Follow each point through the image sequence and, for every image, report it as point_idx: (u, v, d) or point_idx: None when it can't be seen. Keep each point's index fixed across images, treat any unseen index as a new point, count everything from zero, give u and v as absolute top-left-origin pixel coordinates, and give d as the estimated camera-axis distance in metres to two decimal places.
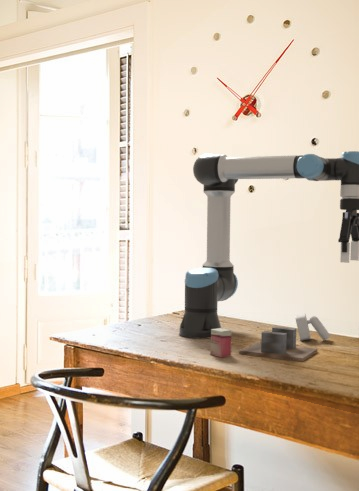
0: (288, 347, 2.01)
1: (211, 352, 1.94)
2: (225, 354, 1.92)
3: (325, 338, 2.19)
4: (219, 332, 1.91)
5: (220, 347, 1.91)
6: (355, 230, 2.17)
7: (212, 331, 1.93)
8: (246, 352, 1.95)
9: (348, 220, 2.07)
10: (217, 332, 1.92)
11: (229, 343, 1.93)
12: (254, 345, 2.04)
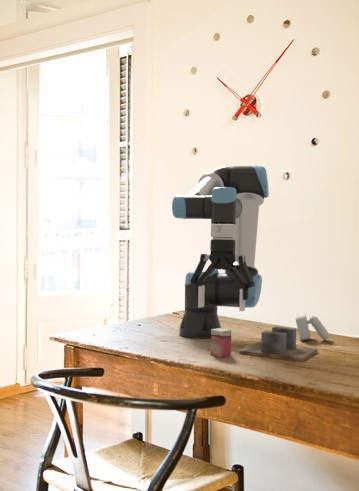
0: (288, 347, 2.01)
1: (211, 352, 1.94)
2: (225, 354, 1.92)
3: (325, 338, 2.19)
4: (219, 332, 1.91)
5: (220, 348, 1.91)
6: None
7: (212, 331, 1.93)
8: (246, 352, 1.95)
9: None
10: (217, 332, 1.92)
11: (229, 343, 1.93)
12: (254, 345, 2.04)
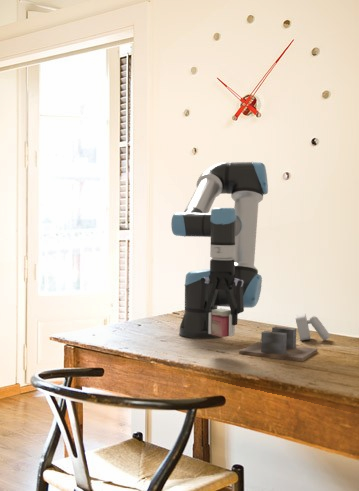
0: (288, 347, 2.01)
1: (212, 332, 1.94)
2: (226, 334, 1.92)
3: (325, 338, 2.19)
4: (220, 312, 1.91)
5: (221, 328, 1.91)
6: None
7: (213, 311, 1.94)
8: (246, 352, 1.95)
9: None
10: (218, 312, 1.92)
11: None
12: (254, 345, 2.04)
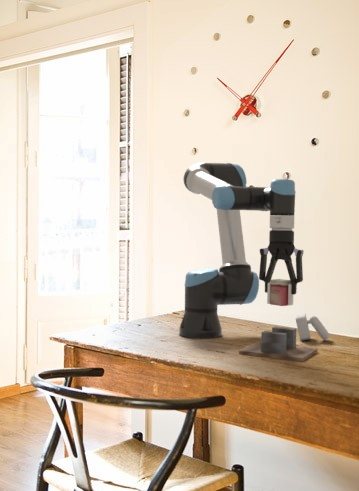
0: (288, 347, 2.01)
1: (271, 302, 1.98)
2: (285, 303, 1.96)
3: (325, 338, 2.19)
4: (279, 281, 1.95)
5: (281, 297, 1.95)
6: None
7: (272, 281, 1.98)
8: (246, 352, 1.95)
9: None
10: (277, 282, 1.96)
11: None
12: (254, 345, 2.04)
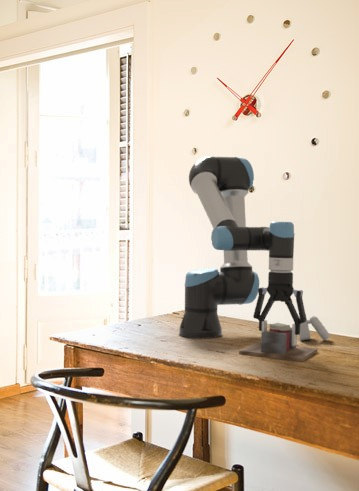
0: None
1: None
2: None
3: (325, 338, 2.19)
4: (278, 327, 1.96)
5: None
6: None
7: (271, 326, 1.98)
8: (246, 352, 1.95)
9: None
10: (276, 327, 1.97)
11: (288, 338, 1.97)
12: (254, 345, 2.04)
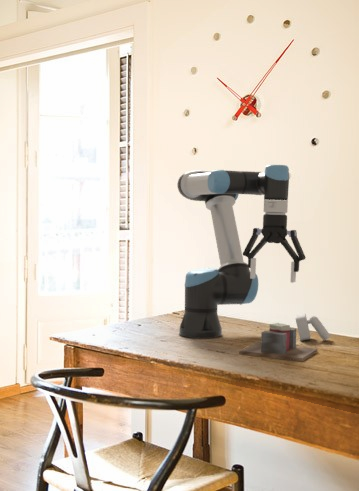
0: None
1: None
2: None
3: (325, 338, 2.19)
4: (278, 327, 1.96)
5: None
6: None
7: (271, 326, 1.98)
8: (246, 352, 1.95)
9: None
10: (276, 327, 1.97)
11: (288, 338, 1.97)
12: (254, 345, 2.04)
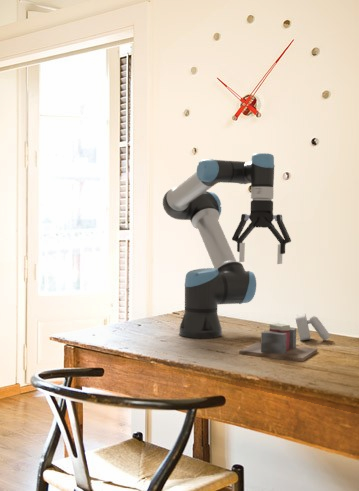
0: None
1: None
2: None
3: (325, 338, 2.19)
4: (278, 327, 1.96)
5: None
6: None
7: (271, 326, 1.98)
8: (246, 352, 1.95)
9: None
10: (276, 327, 1.97)
11: (288, 338, 1.97)
12: (254, 345, 2.04)
